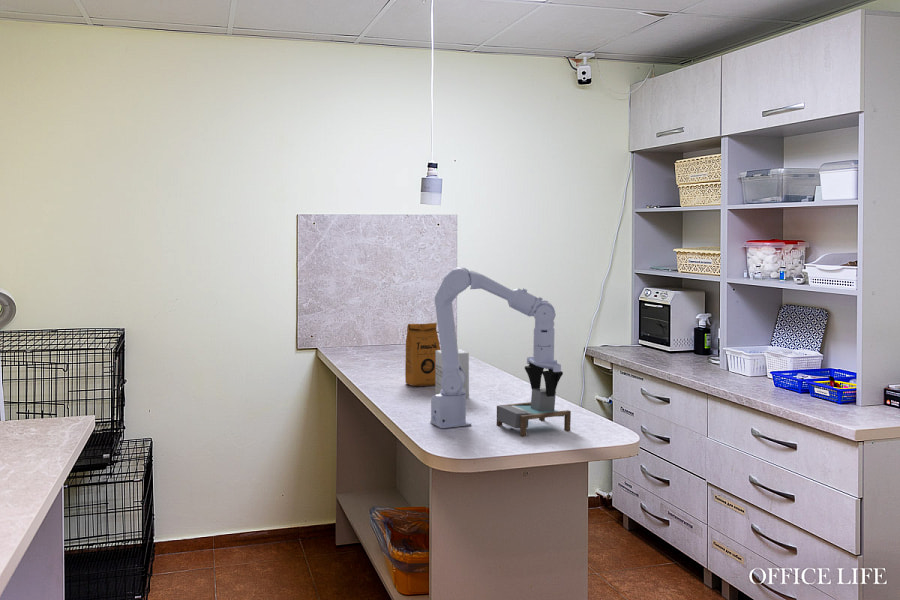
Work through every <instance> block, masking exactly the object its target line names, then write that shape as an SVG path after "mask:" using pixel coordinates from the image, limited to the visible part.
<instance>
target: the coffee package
mask: <svg viewBox="0 0 900 600" xmlns="http://www.w3.org/2000/svg"><path fill="white" fill-rule="evenodd" d="M406 329H407V330H406V332H407V333H406V339H405V361H404V362H405V364H404V365H405V369H404V370H405V371H404V372H405V373H404V375H405V377H404V378H405V379H404V380H405V384H407V385H410V386H415V387H424V386H425V387H431V386H436V350H441V346H440V338H439V334H438V330H437V329H438V323H437V322H429V323H407V327H406Z"/></svg>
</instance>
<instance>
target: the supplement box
mask: <svg viewBox="0 0 900 600" xmlns="http://www.w3.org/2000/svg"><path fill="white" fill-rule="evenodd" d="M458 355H459V359H460V363H461V368H462V370H463V371H464V373H465V376H466V379H465V383H464V384H463V388H464V390H465V391H466V399H467V398H470V371H469V370H470V364H469V363H470V362H469V361H470V353H469V352H467V351H465V350H463V349H461V348H458ZM442 375H443V372H442V354H441V350H436V385H435V395H437V394H440V391H441V389H442V388H441V379H442Z"/></svg>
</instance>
